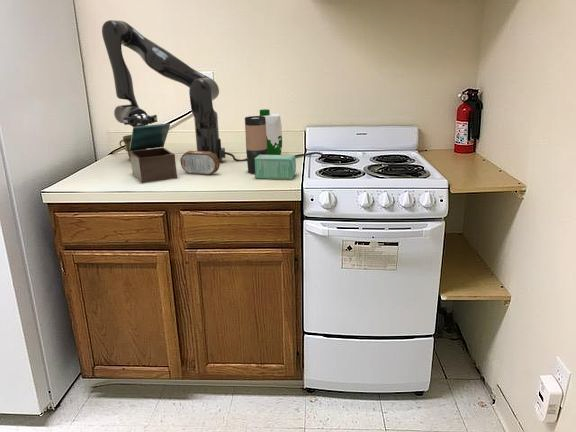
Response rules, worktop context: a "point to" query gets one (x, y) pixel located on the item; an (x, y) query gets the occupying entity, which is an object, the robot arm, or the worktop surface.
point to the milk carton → (273, 132)
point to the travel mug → (255, 139)
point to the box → (275, 166)
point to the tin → (200, 162)
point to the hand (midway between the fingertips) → (145, 122)
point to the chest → (153, 165)
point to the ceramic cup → (127, 144)
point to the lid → (149, 136)
